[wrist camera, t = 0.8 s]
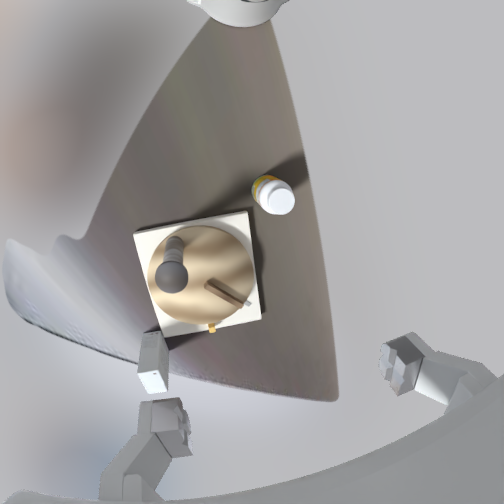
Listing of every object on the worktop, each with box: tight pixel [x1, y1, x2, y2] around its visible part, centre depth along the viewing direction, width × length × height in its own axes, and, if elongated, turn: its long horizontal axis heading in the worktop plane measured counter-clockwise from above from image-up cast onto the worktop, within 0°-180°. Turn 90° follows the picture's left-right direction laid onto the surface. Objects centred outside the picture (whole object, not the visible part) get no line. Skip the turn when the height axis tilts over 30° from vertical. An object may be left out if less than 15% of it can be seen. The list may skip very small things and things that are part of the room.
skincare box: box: [137, 331, 169, 394], centre depth 55 cm, size 6×4×12 cm
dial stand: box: [133, 211, 261, 338], centre depth 55 cm, size 22×20×4 cm
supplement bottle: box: [252, 175, 295, 215], centre depth 49 cm, size 5×5×10 cm
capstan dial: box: [147, 225, 254, 325], centre depth 49 cm, size 19×19×14 cm
